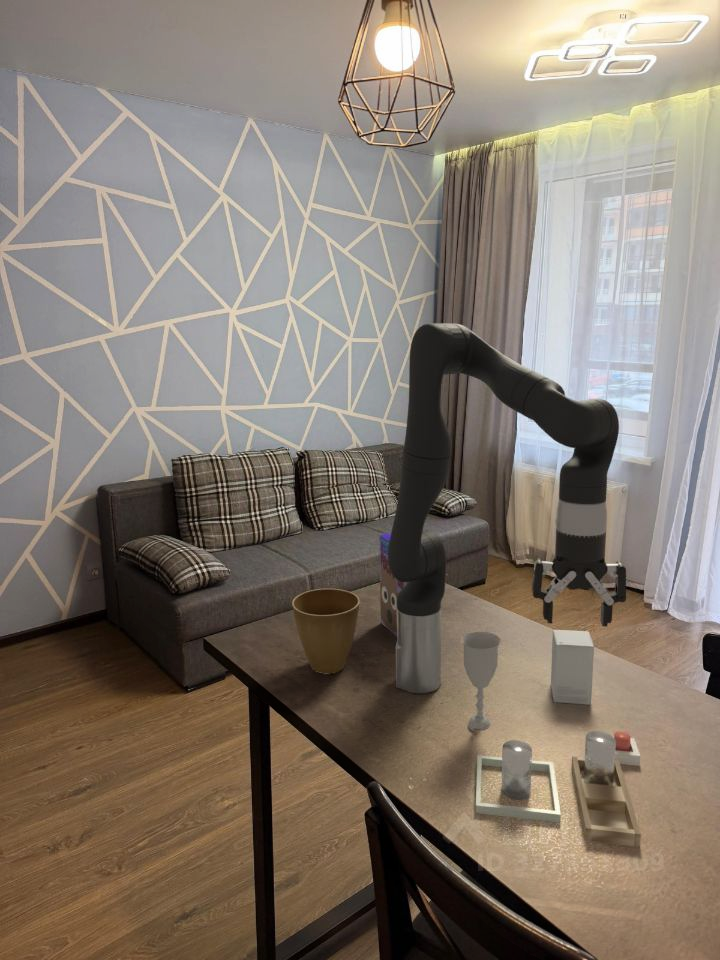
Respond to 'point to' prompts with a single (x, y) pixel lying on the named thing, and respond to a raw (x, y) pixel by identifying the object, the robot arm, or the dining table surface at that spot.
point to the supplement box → (572, 666)
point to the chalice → (480, 669)
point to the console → (629, 755)
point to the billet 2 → (599, 758)
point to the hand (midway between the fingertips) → (576, 623)
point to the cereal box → (388, 587)
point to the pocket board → (606, 808)
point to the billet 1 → (516, 769)
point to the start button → (622, 741)
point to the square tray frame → (512, 810)
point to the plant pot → (326, 626)
